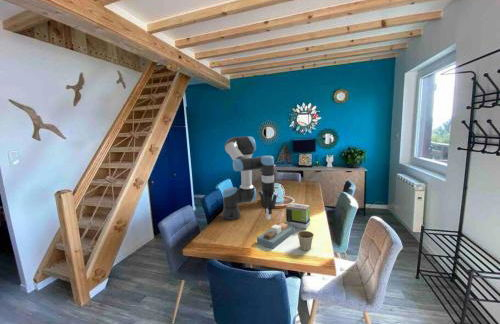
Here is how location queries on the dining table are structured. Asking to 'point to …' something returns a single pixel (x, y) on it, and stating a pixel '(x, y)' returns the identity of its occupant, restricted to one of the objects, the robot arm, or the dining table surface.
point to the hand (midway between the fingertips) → (268, 218)
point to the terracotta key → (283, 226)
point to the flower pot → (305, 239)
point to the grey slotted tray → (277, 238)
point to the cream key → (276, 229)
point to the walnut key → (269, 235)
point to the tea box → (298, 215)
